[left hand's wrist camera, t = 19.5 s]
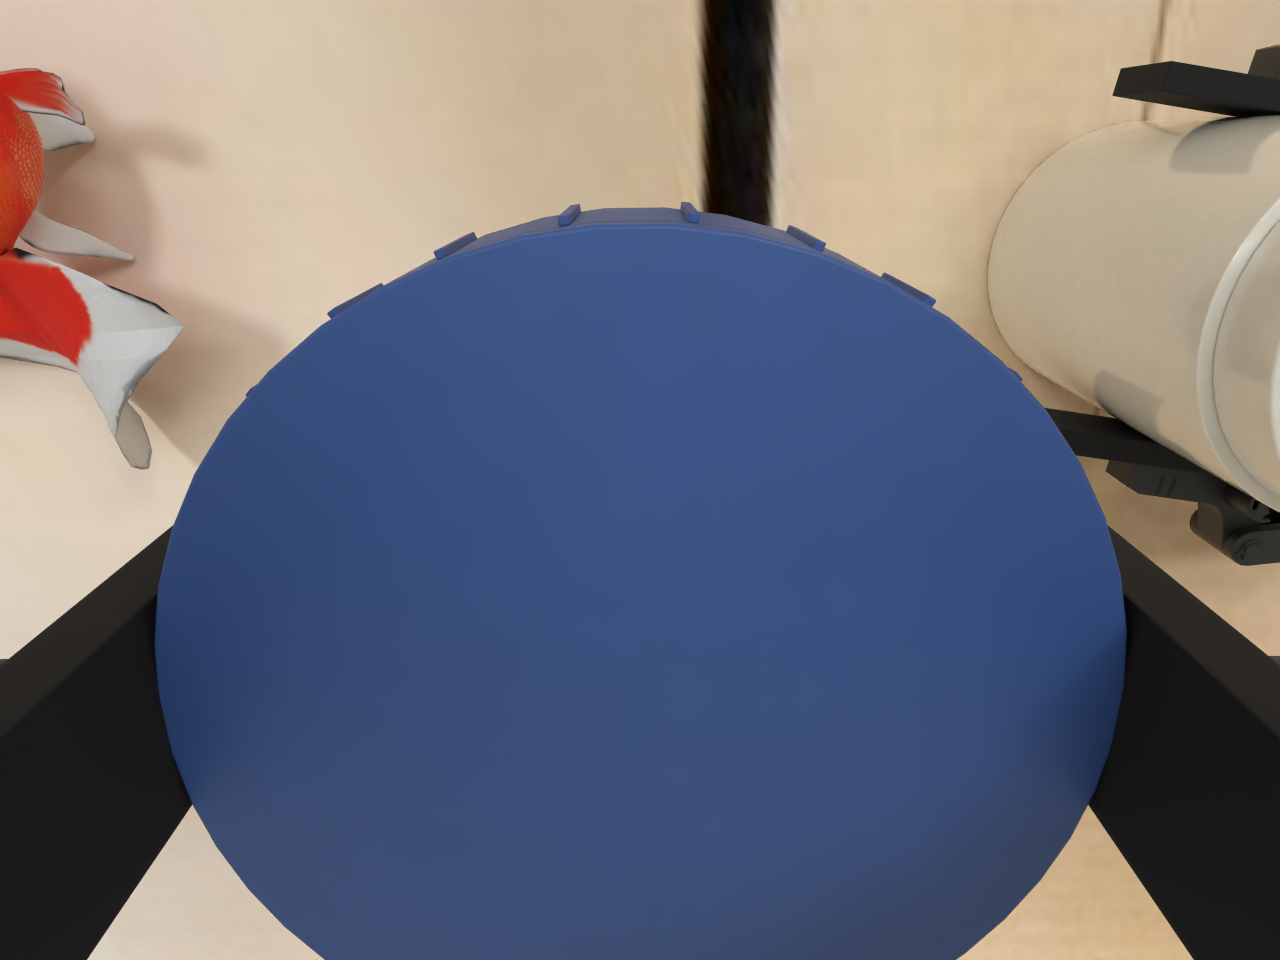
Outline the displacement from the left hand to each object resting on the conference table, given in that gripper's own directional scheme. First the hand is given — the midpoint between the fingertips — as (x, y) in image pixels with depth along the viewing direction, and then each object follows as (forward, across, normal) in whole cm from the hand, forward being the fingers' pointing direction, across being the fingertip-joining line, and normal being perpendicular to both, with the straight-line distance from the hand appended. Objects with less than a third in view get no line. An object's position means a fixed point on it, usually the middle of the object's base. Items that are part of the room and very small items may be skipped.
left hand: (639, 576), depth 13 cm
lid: (-3, 0, 0) cm, 3 cm away
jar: (+22, +18, +2) cm, 28 cm away
